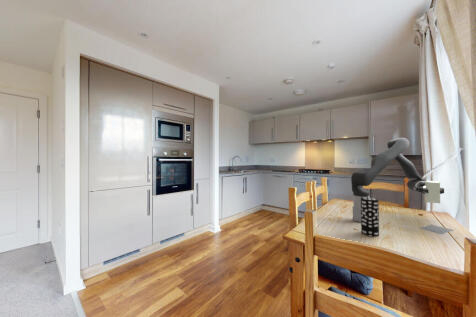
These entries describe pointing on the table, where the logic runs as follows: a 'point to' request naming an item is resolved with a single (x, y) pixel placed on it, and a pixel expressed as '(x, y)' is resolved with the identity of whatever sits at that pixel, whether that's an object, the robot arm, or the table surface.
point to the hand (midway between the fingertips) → (434, 191)
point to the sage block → (432, 191)
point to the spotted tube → (370, 216)
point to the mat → (436, 229)
